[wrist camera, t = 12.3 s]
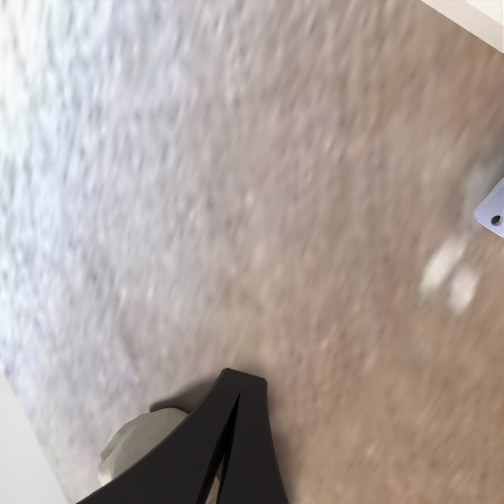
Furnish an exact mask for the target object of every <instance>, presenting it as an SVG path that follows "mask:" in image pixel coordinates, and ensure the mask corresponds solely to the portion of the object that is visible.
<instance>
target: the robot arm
mask: <svg viewBox="0 0 504 504" xmlns="http://www.w3.org/2000/svg"><path fill="white" fill-rule="evenodd" d="M497 215H500V220H499V221H498V222H497V223H491V219H492V218H493V217H494V216H497ZM474 217H475V219H476V220H477V221H478V222H479V223H480V224H482V225H483V226H485V227H486V228H488V229H490V230H491V231H493V232H495V233H496V234H498V235H499V236H501V237H503V238H504V177H503V178H502V179H501V181H500V182H499V183H498V184H497V185H496V186H495V187H494V188H493V190H492V191H491V192H490V193H489V194H488V195H487V196H486V197H485V199H484V200H483V201H482V202H481V203H480V204H479V205H478V206H477V208H476V209H475V211H474ZM224 454H225V455H224ZM223 456H224V460H223V466H222V471H221V476H220V482H219V487H218V493H217V498H216V504H289V503H288V500H287V496H286V493H285V490H284V487H283V483H282V480H281V476H280V472H279V468H278V464H277V460H276V456H275V451H274V446H273V441H272V435H271V429H270V423H269V416H268V406H267V381H266V380H265V379H264V378H260V377H257V376H253V375H250V374H247V373H243V372H240V371H236V370H233V369H229V368H226V369H223V370H222V372H221V374H220V376H219V377H218V379H217V380H216V382H215V383H214V385H213V386H212V387H211V389H210V390H209V391H208V392H207V394H206V395H205V396H204V397H203V399H202V400H201V401H200V402H199V403H198V404H197V405H196V407H195V408H194V409H193V410H192V411H191V412H190V413H189V414H188V416H187V417H186V418H185V419H184V420H183V421H182V422H181V423H180V424H179V425H178V426H177V427H176V428H175V429H174V430H173V431H172V432H171V433H170V434H169V435H167V436H166V437H165V438H164V439H163V440H162V441H161V442H160V443H159V444H158V445H156V446H155V447H154V448H153V449H152V450H151V451H149V452H148V453H147V454H146V455H145V456H143V457H142V458H141V459H140V460H138V461H137V462H136V463H134V464H133V465H132V466H131V467H129V468H128V469H127V470H125V471H124V472H123V473H121V474H120V475H119V476H117V477H116V478H114V479H113V480H112V481H110V482H109V483H107V484H106V485H104V486H103V487H101V488H100V489H98V490H96V491H95V492H93V493H92V494H90V495H89V496H87V497H86V498H84V499H83V500H81V501H80V502H78V503H76V504H206V501H207V499H208V496H209V493H210V491H211V488H212V485H213V483H214V480H215V477H216V475H217V472H218V470H219V467H220V464H221V462H222V459H223Z"/></svg>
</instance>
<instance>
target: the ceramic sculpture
mask: <svg viewBox="0 0 504 504" xmlns="http://www.w3.org/2000/svg"><path fill="white" fill-rule="evenodd" d="M187 416H188V413H186V412H184V411H182V410H179V409H177V408H165V409H161V410H158V411H155V412H151V413H147V414H143V415H140V416H138V417H137V418H135V419H134V420H132V421H130V422H128V423H127V424H125V425H124V426H123V427H122V428H121V429H120V430H119V431H118V432H117V433H116V434H115V436H114V437H113V438H112V440H111V441H110V443H109V444H108V446H107V447H106V449H105V450H104V451H103V452H102V453H101V455H100V456H99V459H100V465H99V471H98V475H99V479H100V482H101V484H102V487H103V486H104V485H106V484H107V483H109V482H110V481H112V480H113V479H114V478H116V477H117V476H119V475H120V474H121V473H123V472H124V471H125V470H127V469H128V468H129V467H131V466H132V465H133V464H134V463H136V462H137V461H138V460H140V459H141V458H142V457H143V456H145V455H146V454H147V453H148V452H149V451H151V450H152V449H153V448H154V447H155V446H156V445H158V444H159V443H160V442H161V441H162V440H163V439H164V438H165V437H166V436H167V435H169V434H170V433H171V432H172V431H173V430H174V429H175V428H176V427H177V426H178V425H179V424H180V423H181V422H182V421H183V420H184V419H185V418H186V417H187ZM218 487H219V480H218V478H217V477H215V480H214V483H213V485H212V488H211V491H210V493H209V496H208V499H207V501H206V504H216V498H217V493H218Z"/></svg>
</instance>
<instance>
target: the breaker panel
mask: <svg viewBox="0 0 504 504" xmlns="http://www.w3.org/2000/svg"><path fill="white" fill-rule="evenodd" d="M421 1H423V2H424V3H426V4H427V5H429V6H431V7H432V8H434V9H435V10H437V11H438V12H440V13H441V14H443V15H444V16H446V17H448V18H449V19H451V20H452V21H454V22H455V23H457V24H458V25H460V26H461V27H463V28H464V29H466V30H468V31H469V32H471V33H472V34H474V35H475V36H477V37H478V38H480V39H481V40H483V41H485V42H486V43H488V44H489V45H491V46H492V47H494V48H495V49H497V50H498V51H500V52H501V53H503V54H504V0H421Z"/></svg>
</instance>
